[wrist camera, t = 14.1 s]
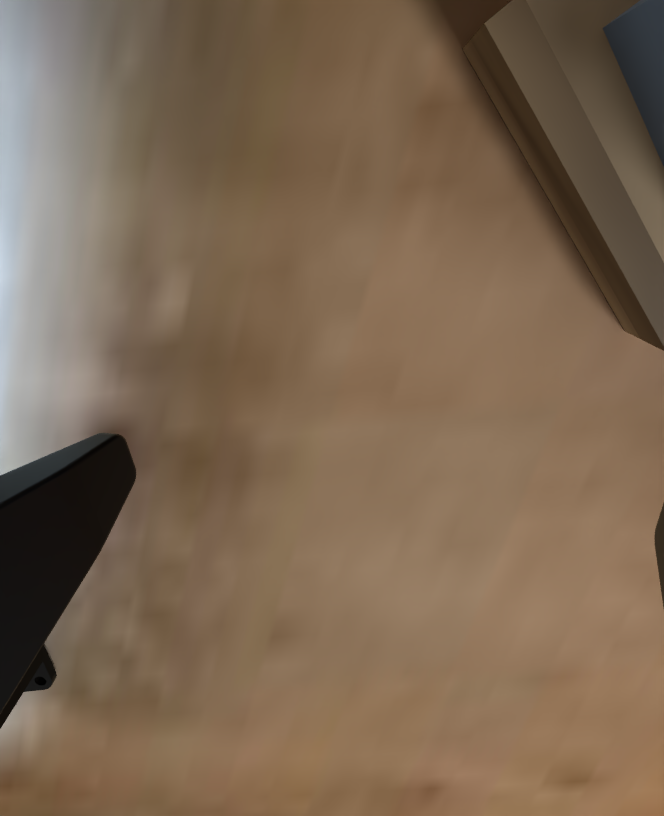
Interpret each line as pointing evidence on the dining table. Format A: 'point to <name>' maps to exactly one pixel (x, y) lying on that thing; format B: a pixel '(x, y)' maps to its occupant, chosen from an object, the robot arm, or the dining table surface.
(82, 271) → the dining table surface
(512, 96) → the wooden stand
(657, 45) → the blue-grey rectangular block
